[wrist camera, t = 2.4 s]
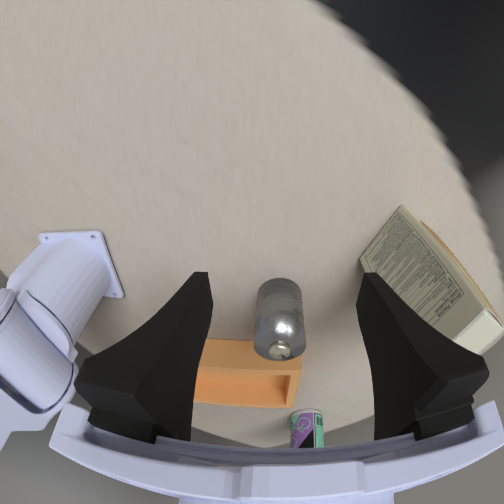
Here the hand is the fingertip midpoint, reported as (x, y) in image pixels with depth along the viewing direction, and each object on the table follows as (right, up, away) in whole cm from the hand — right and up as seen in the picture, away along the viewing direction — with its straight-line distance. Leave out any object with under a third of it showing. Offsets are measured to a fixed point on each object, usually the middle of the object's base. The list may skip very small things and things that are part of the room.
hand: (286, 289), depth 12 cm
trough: (-4, -12, +20) cm, 23 cm away
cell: (+1, -2, +13) cm, 13 cm away
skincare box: (+11, +3, +9) cm, 14 cm away
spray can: (+8, -26, +29) cm, 40 cm away
